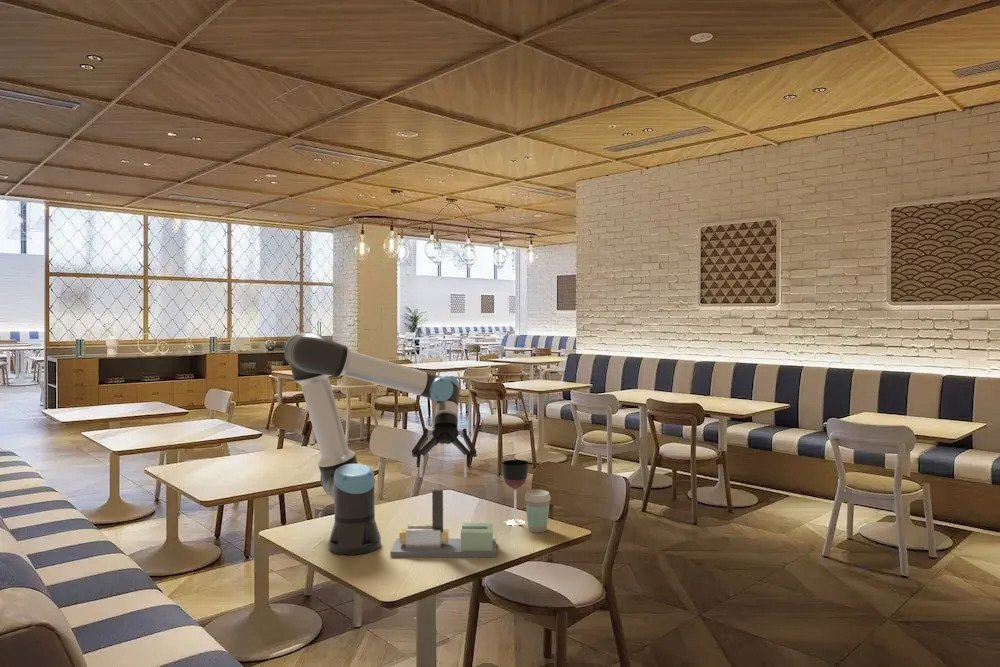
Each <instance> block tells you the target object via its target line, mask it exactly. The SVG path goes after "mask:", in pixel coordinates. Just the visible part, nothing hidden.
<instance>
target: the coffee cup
mask: <svg viewBox="0 0 1000 667" xmlns="http://www.w3.org/2000/svg"><path fill="white" fill-rule="evenodd" d="M523 499H524V501H525V510H526V522H527V527H528V528H527V529H528V531H529V532H530V533H534V532H542V533H544V531H545V532H546V531H547V530H548V521H549V513H550V512H549V510H550V503H551V500H552V499H551V495H550V492H549V491H548V490H545V489H530V490H527V491H526V492H525V494H524V498H523Z"/></svg>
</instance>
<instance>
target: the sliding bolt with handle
mask: <svg viewBox="0 0 1000 667" xmlns="http://www.w3.org/2000/svg"><path fill="white" fill-rule="evenodd" d="M431 492H432V494H431V496H432V497H431V498H432V501H431V502H432V508H431V510H432V512H431V513H432V514H431V515H432V516H431V517H432V518H431V519H432V524H431V525H432V529H441V544H448V540H449V539H450V538H449V537H450V535H449V532H450V530H449V528H444V489H432V491H431ZM406 529H407V528H401V529H400V531H399V538H400V544H406Z"/></svg>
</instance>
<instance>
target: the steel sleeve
mask: <svg viewBox="0 0 1000 667" xmlns="http://www.w3.org/2000/svg"><path fill="white" fill-rule="evenodd" d="M405 529H406V548H441V545H442V544H441V529H432V524H408V525H407V528H405Z"/></svg>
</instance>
